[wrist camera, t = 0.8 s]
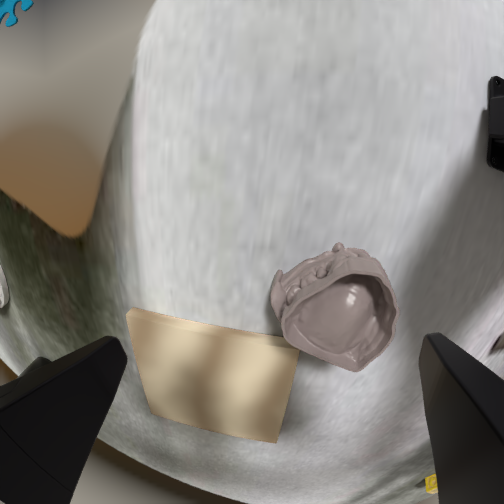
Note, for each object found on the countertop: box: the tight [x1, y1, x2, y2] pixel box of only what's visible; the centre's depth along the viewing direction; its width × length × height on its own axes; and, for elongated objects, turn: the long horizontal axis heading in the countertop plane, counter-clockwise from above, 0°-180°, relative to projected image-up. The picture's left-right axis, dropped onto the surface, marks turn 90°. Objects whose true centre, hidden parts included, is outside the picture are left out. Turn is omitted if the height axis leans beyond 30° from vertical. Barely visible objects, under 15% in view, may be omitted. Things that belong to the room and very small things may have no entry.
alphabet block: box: [425, 474, 438, 494], centre depth 26 cm, size 3×3×3 cm
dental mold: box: [271, 243, 400, 372], centre depth 16 cm, size 8×7×5 cm
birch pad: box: [126, 307, 300, 443], centre depth 24 cm, size 14×14×1 cm
